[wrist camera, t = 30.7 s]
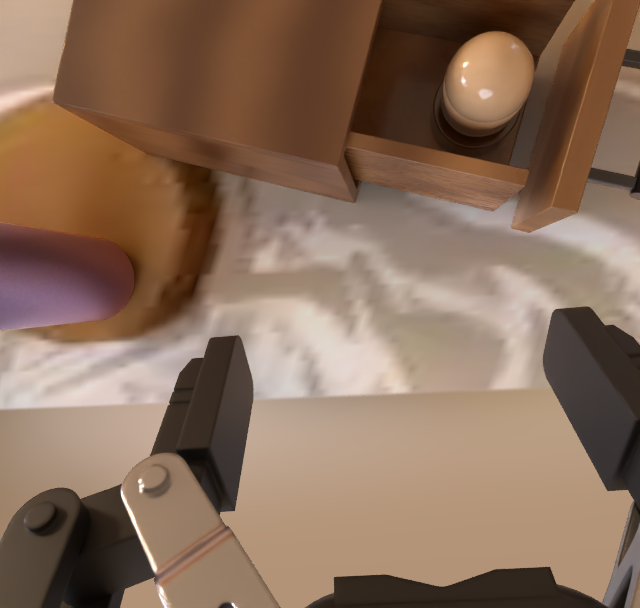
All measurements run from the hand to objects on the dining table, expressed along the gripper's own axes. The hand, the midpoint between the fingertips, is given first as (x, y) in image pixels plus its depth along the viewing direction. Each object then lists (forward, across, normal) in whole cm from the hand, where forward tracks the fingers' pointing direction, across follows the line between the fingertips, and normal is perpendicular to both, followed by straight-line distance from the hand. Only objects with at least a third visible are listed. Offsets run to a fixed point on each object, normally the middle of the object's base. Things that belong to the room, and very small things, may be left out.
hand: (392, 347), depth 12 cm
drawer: (+21, -8, +1) cm, 23 cm away
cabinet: (+26, +5, -2) cm, 26 cm away
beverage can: (+20, +19, +9) cm, 29 cm away
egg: (+20, -7, 0) cm, 22 cm away
